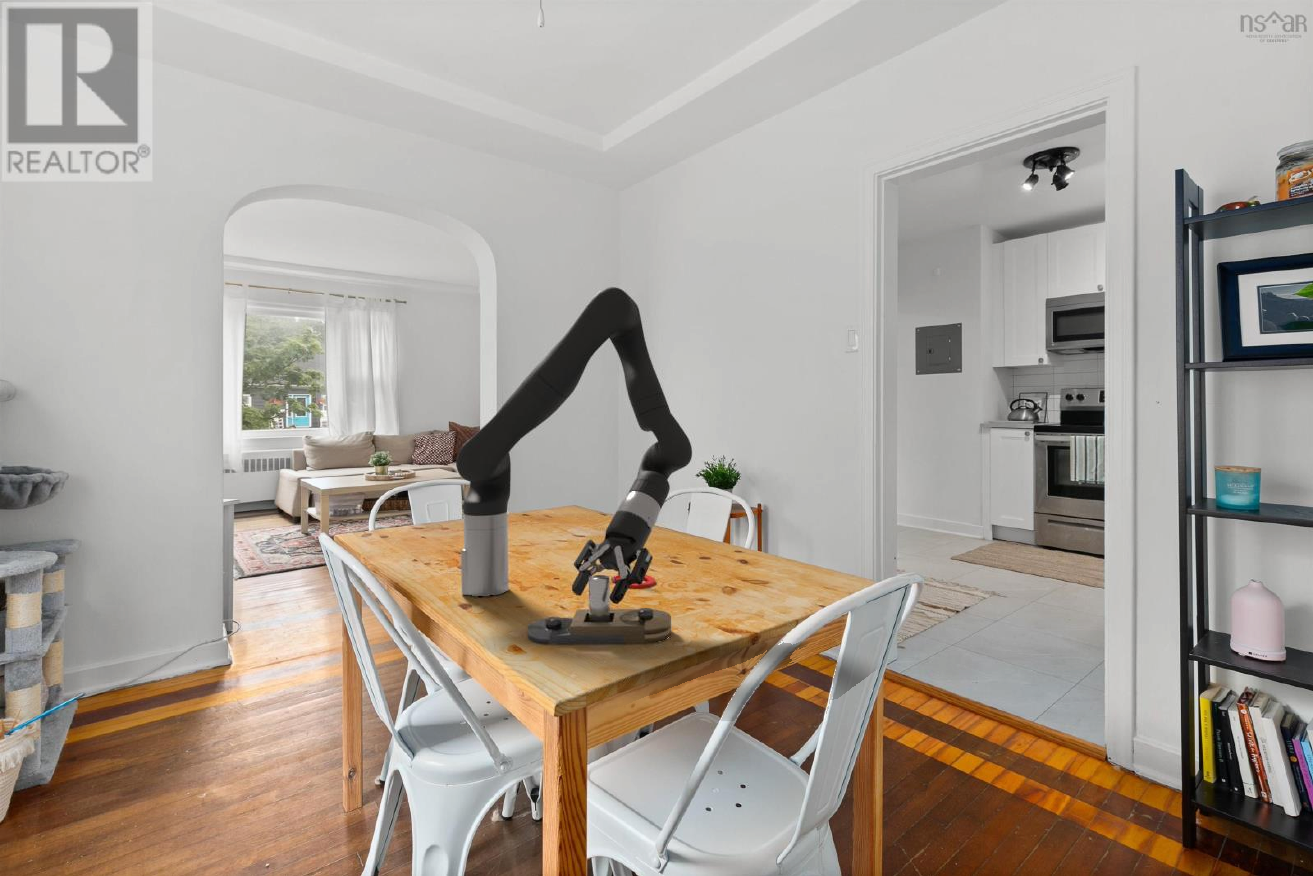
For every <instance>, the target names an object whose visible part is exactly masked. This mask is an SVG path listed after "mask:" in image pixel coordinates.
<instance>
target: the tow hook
mask: <svg viewBox="0 0 1313 876" xmlns="http://www.w3.org/2000/svg"><path fill="white" fill-rule="evenodd" d="M618 579H621V576H620V571H619V572H618V571H617V575H615V576H611V577H610V581H611V582H614V583H613V584H616V583H617V581H618ZM643 581H645V582H642V584H640V585H638V584H637V583H636V584H632V585H631V586H629V588H628V589H646V587H647V588H650V587H649V586H651V587H653V586H655V585H656V579H655V577H653V576H651V575H647V574H646V575H645V577H644V580H643ZM654 584H655V585H654Z"/></svg>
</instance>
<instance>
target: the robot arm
mask: <svg viewBox="0 0 1313 876" xmlns="http://www.w3.org/2000/svg"><path fill="white" fill-rule="evenodd" d="M609 339H610V342H611V343H612V345H613V347H614V349H615V351H616V353H617V355H618V358H619V361H620V363H621V366H622V369H623V370H622V371H623V374H624V375H623V376H624V382H625V387H626V393H627V396H628V398H629V403H630V405H631V408H632V410H633V413H634V416H635V418H636V422H637V424H638V426H639V428H640V430H642V431H643V432H648V433H649V432H652V434H653V435H654V436H655V438H656V440H657V441H656V442H655V443H652V445H650V446H649V448H647V450H646V451H645V452H644V454H643V457H642V459H641V461H640V465H639V467H638V472H637V474H636V475H637V476H636V478H635V480H634V481H633V483H632V485H631V487H630V489H629V491H628V493H626V495H625V497H624V498H623V499H622V501H621V502H620V503H619V504H620V505H619V506H618V508H617V510H616V512H615V513H614V516H613V517H612V519H611V521H610V522H609V525H608V526H607V528H606V530H605V536H604V540H603V541H602V542H600V543H596V542H595V541H593V539H589V540H587V542H586V543H585V545H584V547H583V548H582V549H581V551H580V553H579V555H577V558H576V559H575V561H574V562H573V567H574V568H575V569H576V571H578V574H577V576H576V578H575V579H574V580H573V583H572V586H571V591H572V592H573V594H575V596H577V597H578V596H582V594H583V593H584V591H585V588H586V587H587V585H588V584H589V577H591V576H595V574H596V573H601V572H602V571H605V570H608V571H610V570H611V571H612V570H613V571H615V572H617V573H618V572H619V571H620V576H621V579H618V581H617V582H615V585H614V587H613V589H612V590H611V591H610V592H611V593H610V602H612V603H613V604H615V605H619V604H620V602H621V601H623V599H624V598H625V595H626V594H627V592H628V590H629V589H630V588H629V586H631V585H632V584H636V583H637V584H638V585H640V584H642V583H644V581H645V580H644V577H645V575H647V572H648V570H649V569H650V566H651V563H652V561H653V558H654V557H653V555H652V554H651V552H650V550H648V548H646V547H645V545H646V543H647V541H648V539H649V537H650V535H651V533H652V532H653V529H654V527H655V525H656V523H657V521H658V518H659V515H660V512H661V509H662V507H663V506H664V504H665V502H666V499H667V498H668V496H669V493H670V489H671V487H670V483H669V478H670V477H671V475H672V474H673V473H675V472H677V471H679V470H681V469H683V468H685V467H687V466H688V465H689V464H690V462H691V461H692V458H693V447H692V444H691V441H690V439H689V437H688V435H687V434H686V433H685V431H684V430H683V428H682V426H681V425H680V423H679V422H678V421H677V420H676V418H675V417H674V415H673V414H672V412H671V409H670V406H669V404H668V401H667V398H666V395H665V393H664V390H663V387H662V386H661V383H660V381H659V378H658V376H657V373H656V371H655V368H654V365H653V362H652V359H651V357H650V356H651V355H650V354H649V350H648V347H647V343H646V339H645V333H644V328H643V322H642V319H641V312H640V309H639V306H638V304H637V303H636V301H635V300H634V299H633V298H632V297H631V296H630V295H629V294H628V293H627V292H626V291H625V290H623V289H621V288H620V287H614V286H611V287H605V288H603V289H602V290H599V291H598V292H597V293H596V294H595V295H593V297H592V298H591V299H590V301H588V303H587V305H586V306H585V307H584V309H583V310H582V312H580V315H578V317H577V318H576V320H575V321H574V323H573V324H572V326H571V327H569V329H568V331H567V332H566V334H564V336H563V337H561V339H560V340H559V341H558V342H557V343H556V344H555V345H554V346H553V348H552V349H550V351H549V352H548V353H547V355H545V357H543V359H542V360H540V362H539V363H538V364H537V365H536V366H535V367H534V369H533V370H531V371H530V373H529V374H528V375H527V376H526V377H525V379H524V380H523V381H522V382H521V383H520V385H519V386H518V387H517V388H516V389H515V391H514V392H513V393H512V394H510V396H509V398H508V399H507V400H506V401H505V402H504V403H503V405H502V406H501V407H500V408H499V410H497V413H495V415H494V416H493V417H492V418H490V420H489V421H488V422H487V423H485V424H484V425H483V427H481V429H479V431H477V432H476V433H475V434H474V435H473V436H472V437H470V438H469V439H468V440H467V441H466V442H464V444H463V445H462V446H461V447H460V449H459V451H458V453H457V455H456V460H455V465H456V471H457V473H458V475H460V477H461V478H462V479H464V480H465V481H467V482H469V489H468V490H469V491H468V493H467V494H466V495H467V496H466V497H465V499H464V501H463V503H462V504H463V505H462V510H463V512H462V513H463V514H462V515H463V516H462V517H463V548H462V549H461V550H460V562H461V563H460V565H461V595H464V596H467V595H468V596H470V595H472V596H471V597H478V596H483V597H491V596H490V595H493V596H497V595H501V594H504V592H505V593H506V591H507V592H508V591H509V589H510V588H509V587H510V583H509V581H510V579H509V536H508V535H509V531H508V526H509V525H508V523H509V522H508V504H509V500H510V495H511V480H512V476H511V475H512V474H511V472H512V469H511V467H512V466H511V465H512V464H511V457H510V456H511V455H510V452H511V451H512V449H513V448H514V446H516V445H517V444H518V443H519V442H520V440H522V439H523V438H524V437H525V436H526V435H528V434H529V433H531V432H532V431H533V430H535V429H536V428H538V426H540V425H541V424H543V423H544V422H545V421H546V420H548V418H550V417H551V416H553V414H554V413H556V412H557V410H558V409H559V408H560V407H562V405H563V404H564V403H565V402H566V401H567V400H568V399H569V398H570V396H571V395H572V394H573V392H574V391H575V389H576V388H577V386H578V384H579V382H580V380H581V379H582V376H583V374H584V372H585V369H586V367H587V365H588V363H589V361H590V360H591V358H592V357H593V356H594V354H595V353H596V352H597V351H598V350H599V349H600V348H601V347H602V346H603V344H604V343H605V342H607V340H609ZM597 561H599V563H597ZM633 562H635V563H634V566H633V567H632V563H633Z"/></svg>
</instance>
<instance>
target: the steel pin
mask: <svg viewBox="0 0 1313 876" xmlns="http://www.w3.org/2000/svg"><path fill="white" fill-rule="evenodd" d="M610 581H611V578H610V576H608V575H605V574H604V575H603V574H598V575H595V574H594V575H592V576H591V577H589V581H588V609H589V622H610V609H611V600H610V594H611V593H610V592H611V591H610V587H611V585H610Z"/></svg>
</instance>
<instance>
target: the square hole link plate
mask: <svg viewBox="0 0 1313 876" xmlns="http://www.w3.org/2000/svg"><path fill="white" fill-rule="evenodd" d="M526 631H527V634H526V635H527V639H528V640H529V641H531V642H533V643H535V644H541V645H628V644H627V643H632V644H631V645H637V644H638V645H643V644H645V645H646V643H650V644H656V643H655V642H657V643H660V642H659V641H661V642H664V641H667V640H668V639H669V638H670V637H672V615H671V614H669V612H667V611H664V610H660V609H653V608H650V607H641V608H623V609H622V608H621V609H620V608H618V609H612V608H610V622H589V608H588V609H586V608H585V609H576V611H575V613H574V616H573V617H559V616H551V617H547V618H544V619H543V618H542V619H539V620H536V621H533V622H531V623H530V624H528V626H527V628H526ZM669 636H670V637H669ZM668 637H669V638H668ZM667 638H668V639H667ZM666 639H667V640H666Z"/></svg>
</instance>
